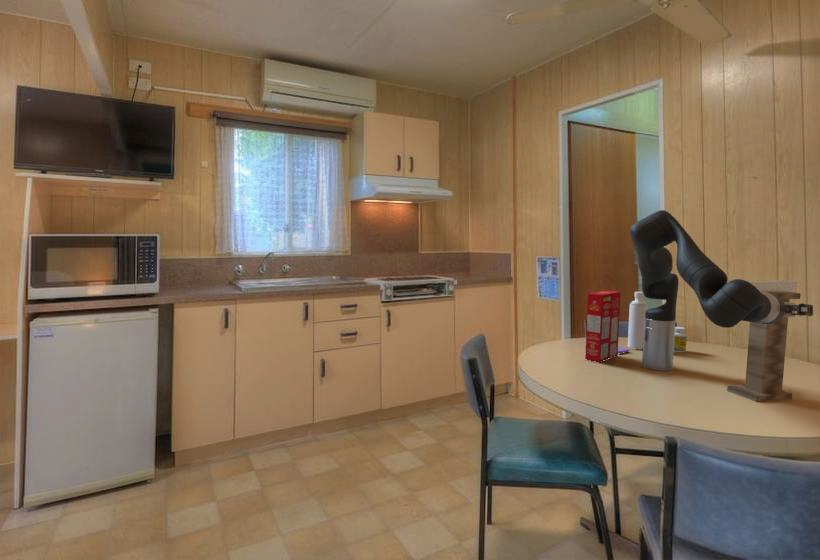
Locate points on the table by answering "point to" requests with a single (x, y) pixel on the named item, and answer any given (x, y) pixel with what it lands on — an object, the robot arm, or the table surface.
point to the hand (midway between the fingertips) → (781, 310)
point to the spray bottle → (637, 321)
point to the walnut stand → (766, 359)
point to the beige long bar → (775, 286)
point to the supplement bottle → (680, 339)
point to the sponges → (622, 350)
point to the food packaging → (602, 325)
